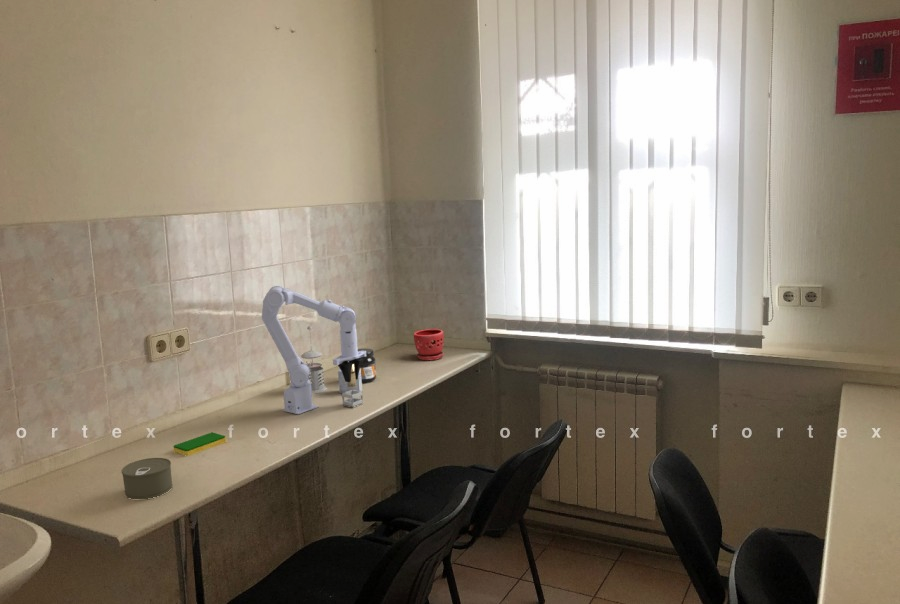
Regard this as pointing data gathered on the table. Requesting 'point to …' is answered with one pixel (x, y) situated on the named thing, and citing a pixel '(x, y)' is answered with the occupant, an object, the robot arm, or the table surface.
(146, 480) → the can
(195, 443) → the dish sponge
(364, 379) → the supplement container
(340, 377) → the medicine box
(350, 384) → the gold domed cylinder
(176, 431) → the table surface
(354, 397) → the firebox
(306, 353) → the french press
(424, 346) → the plant pot
